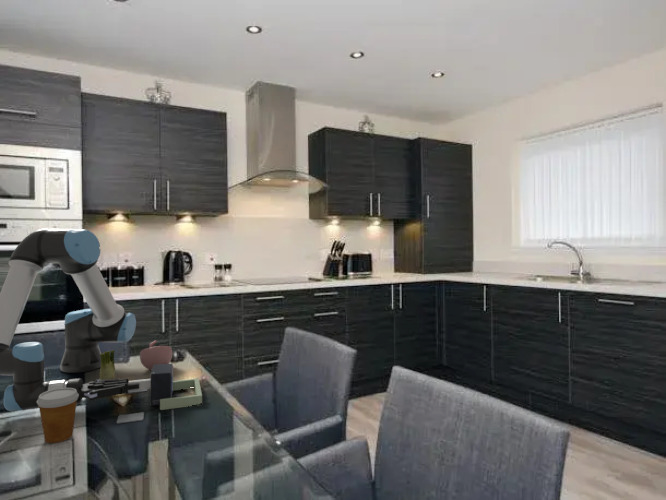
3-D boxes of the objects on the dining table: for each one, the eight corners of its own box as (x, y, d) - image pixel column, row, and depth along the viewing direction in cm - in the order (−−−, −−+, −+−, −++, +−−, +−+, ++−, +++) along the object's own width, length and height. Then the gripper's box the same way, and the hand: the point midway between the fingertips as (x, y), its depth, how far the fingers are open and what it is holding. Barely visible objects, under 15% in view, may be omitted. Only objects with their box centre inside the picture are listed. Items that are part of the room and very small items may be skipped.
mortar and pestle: (169, 363, 183) (168, 336, 183) (175, 371, 173) (175, 342, 173) (137, 368, 177) (137, 339, 176) (142, 376, 167) (142, 346, 166)
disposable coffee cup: (87, 432, 120) (87, 389, 120) (55, 449, 111) (54, 402, 111) (61, 427, 123) (61, 385, 123) (28, 442, 114) (27, 397, 114)
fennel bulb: (114, 380, 162) (113, 348, 161) (118, 384, 158) (118, 351, 158) (96, 384, 158) (96, 351, 157) (101, 388, 154) (100, 354, 154)
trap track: (125, 388, 154) (125, 380, 154) (197, 380, 162) (197, 372, 162) (116, 424, 126) (116, 413, 126) (203, 412, 134) (203, 402, 134)
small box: (171, 404, 140) (171, 372, 140) (149, 406, 138) (149, 373, 138) (173, 392, 150) (173, 362, 150) (153, 394, 148) (152, 364, 148)
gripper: (71, 396, 140) (151, 388, 148) (62, 412, 128) (149, 402, 136) (71, 373, 140) (151, 366, 148) (61, 387, 128) (149, 378, 136)
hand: (150, 383), depth 142 cm, fingers closed
